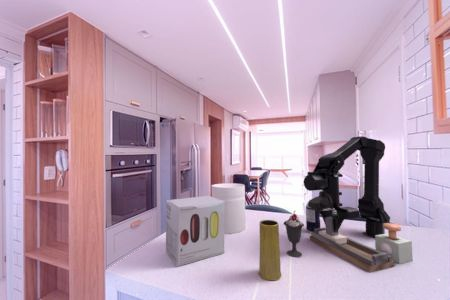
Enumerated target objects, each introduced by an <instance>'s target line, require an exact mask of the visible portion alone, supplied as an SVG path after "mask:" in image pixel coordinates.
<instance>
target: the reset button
mask: <svg viewBox="0 0 450 300" xmlns="http://www.w3.org/2000/svg"><path fill="white" fill-rule="evenodd" d="M383 226H384V229H385V230H388V234H389V239H391V240H394V241H395V240H397V237H398V235H397V232H401V231H402V226H401V225H400V224H395V223H390V222H389V223H384V224H383Z"/></svg>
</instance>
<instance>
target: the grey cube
mask: <svg viewBox="0 0 450 300" xmlns="http://www.w3.org/2000/svg"><path fill="white" fill-rule="evenodd" d="M374 241H375V242H374V243H375V250H378V251H380V252H382V253H387V254H388V255H390V256H392V261H394V263H396V264H400V265H401V264H406V263H409V262H413V261H414V259H413V258H414V257H413V244H412V242H413V241H412V240H409V239H406V238H403V237H400V236H397V240H395V241H394V240H391V239H389V234H388V233H387V232H386V233H385V234H381V235H375V238H374Z"/></svg>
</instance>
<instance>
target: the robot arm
mask: <svg viewBox="0 0 450 300" xmlns="http://www.w3.org/2000/svg"><path fill="white" fill-rule="evenodd" d="M385 149H386V145H385V142H383V141H382V140H380V139H375V138H368V137H366V136H363V135H361V136H353V137H351V138H350V139H349V141H347V142H346V143H344V144H342V145H341V146H339V148H337V149H336V150H335V151H333V152H331V153H328V154H324V155H322V156H320V157H319V158H318V161H317V164H316V166H315V167H314V169H313V171H307V175H306V176H305V177H304V179H303V186H304V188H305V190H307V191H309V192H312V191H313V192H314V191H319V192H318V196H315V197H313V198H311V199H309V200H308V202H307V203H308V207H311V209H314V210H316V211H318V212H319V213H320V217H321V218H322V220H323V222H324V224H325V217H332V218H333V229H334V232H335V233H337V232H338V233H339V230H340V228H341V226H342V224H343V222H344V220H347V219H348V220H349V219H350V220H351V219H355V218H356V219H357V218H361V219H365V231H362V234H364V235H366V236H369V237H372V238H374V239H375V235H381V234H386V232H385V230H386V229H385V228H384V226H383V224H384V223H390V221H391V216H390V215H389V214H388V213H387V212H386V210H385V204H384V203H383V201H382V199H381V198H380V192H379V191H380V189H379V187H380V176H379V175H380V161H381V160H382V158H384V157H385ZM357 151H359V155H360V156H361V158H362V160H363V162H364V169H363V170H364V171H363V173H364V174H363V175H364V177H363V178H364V179H363V180H364V181H363V183H364V185H363V187H364V188H363V195H362V197H361V198H358V200H357V204H358V205H357V208H358V209H357V208H356V207H351V206H343V203H341V201H340V196H342V195H343V193H342V191H340V184H339V182H340V179H339V178H342V177H343V176H344V175H343V174H342V173H341V172H339V171H340V170H341V169H342V168H343V167H344V166H345V161H346V160H347V159H348V158H349V157H351V156H352V155H353V154H355V153H356V152H357Z"/></svg>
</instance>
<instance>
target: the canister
mask: <svg viewBox="0 0 450 300" xmlns="http://www.w3.org/2000/svg"><path fill="white" fill-rule="evenodd" d="M211 197H213V198H216V199H219V200H222V201H224V235H226V234H227V235H233V234H238V233H239V234H240V233H242V232H244V231H245V230H246V186H245V184H243V183H235V182H233V183H230V182H229V183H228V182H227V183H225V182H224V183H215V184H211Z"/></svg>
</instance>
